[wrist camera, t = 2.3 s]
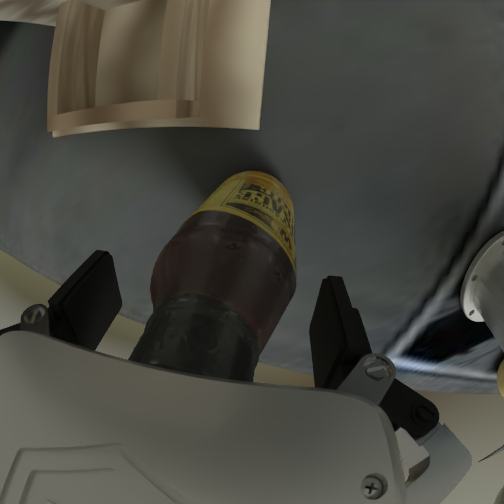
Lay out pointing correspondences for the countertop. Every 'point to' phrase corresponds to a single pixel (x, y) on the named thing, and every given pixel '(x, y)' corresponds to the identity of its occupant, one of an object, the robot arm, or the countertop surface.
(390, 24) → the countertop surface
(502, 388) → the pale yellow rounded lump
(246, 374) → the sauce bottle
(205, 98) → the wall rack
